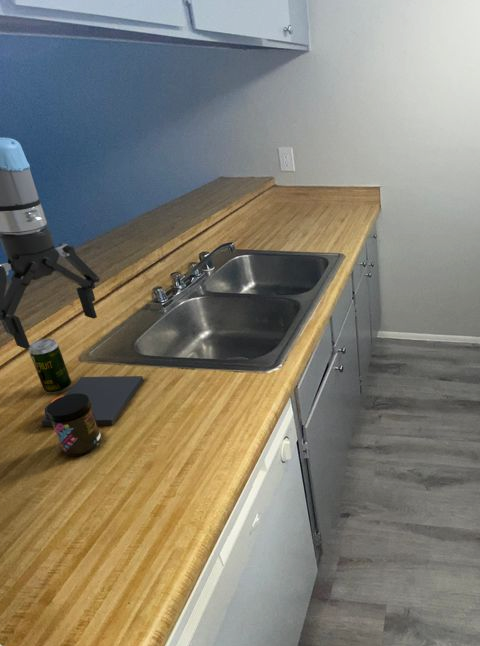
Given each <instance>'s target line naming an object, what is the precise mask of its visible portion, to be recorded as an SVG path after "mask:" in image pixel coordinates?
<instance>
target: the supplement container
mask: <svg viewBox="0 0 480 646" xmlns="http://www.w3.org/2000/svg"><path fill="white" fill-rule="evenodd" d="M62 396H63V397H61V396H59V397H60V398H58V397H57V398H58V399H56V400H55V401H53V402H52V401H51V402H52V403H51V402H50V403H51V404H50V403H49V404H50V405H49V406H48V407H47V406H46V407H47V413H48V415H49V418H50V420H51V422H52V424H53V426H52V427H53V429H54V432H55V435H56V437H57V439H58V442H59V444H60V447H61V449H62V452H63V453H64V454H66V455H68V456H72V457H77V456H84V455H86V454H89V453H90V452H93V451H94V450H96V449H97V448H98V446H99V445H100V444H101V442H102V434H101V431H100V428H99V425H97V422H96V419H95V416H94V413H93V410H92V407H91V403H90V401H89V398H88V396H87V395H85V394H79V393H77V394H69V395H66V396H64V395H62Z"/></svg>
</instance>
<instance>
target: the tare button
mask: <svg viewBox="0 0 480 646" xmlns="http://www.w3.org/2000/svg"><path fill="white" fill-rule="evenodd" d="M63 396H64V395H61V396H58V397H55V398H54V399H52V400H51V401H50V403H52V402H53V401H55V400H56V399H58V398H60V397H63Z"/></svg>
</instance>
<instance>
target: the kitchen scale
mask: <svg viewBox="0 0 480 646" xmlns="http://www.w3.org/2000/svg"><path fill="white" fill-rule="evenodd" d="M143 382H144V376H143V375H127V376H126V375H125V376H124V375H121V376H119V375H117V376H116V375H115V376H113V375H112V376H81V377H80V378H79V379H78V380H77V381H76V382H75V383H74V384H73V385H72V386H71V387H70V388H69V389H68V391H67V392H66V393H65V395H63V396H66V395H69V394H77V393H79V394H85V395H87V396H88V398H89V401H90V403H91V407H92V410H93V413H94V416H95V419H96V422H97V425H98V426H113V425H115V422H116V421H117V420H118V418H119V417H120V415H122V412H123V411H124V409H126V407H127V405H128V404H129V403H130V401H131V399H132V398H133V397H134V395H135V394H136V392H137V391H138V390H139V388H140V386H141V385H142V384H143ZM50 404H51V402H50V403H48V404H47V405H46V406H45V407H44V415H45V416H44V418H42V420H41V421H40V422H41V425H42V427H53V424H52V422H51V420H50V418H49V415H48V413H47V407H48V406H49V405H50Z"/></svg>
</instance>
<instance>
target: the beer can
mask: <svg viewBox="0 0 480 646" xmlns="http://www.w3.org/2000/svg"><path fill="white" fill-rule="evenodd" d="M29 345H30V348H28V349H29V350H28V354H29V356H30V359H31V361H32V364H33V366H34V368H35V371H36V373H37V374H36V375H37V376H38V379H39V381H40V383H41V386H42V389H43V391H45V393H47V394H49V395H57V394H58V395H59V394H61V393H63V392H65V391H67V390H69V389H70V388H71V387H72V386H71V385H72V380H71V376H70V374H69V371H68V367H67V366H66V363H65V360H64V358H63V354H62V351H61V349H60V346H59V343H57V341H56V339H54V338H43V339H38V340H36V341H34V342H31V343H29Z"/></svg>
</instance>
